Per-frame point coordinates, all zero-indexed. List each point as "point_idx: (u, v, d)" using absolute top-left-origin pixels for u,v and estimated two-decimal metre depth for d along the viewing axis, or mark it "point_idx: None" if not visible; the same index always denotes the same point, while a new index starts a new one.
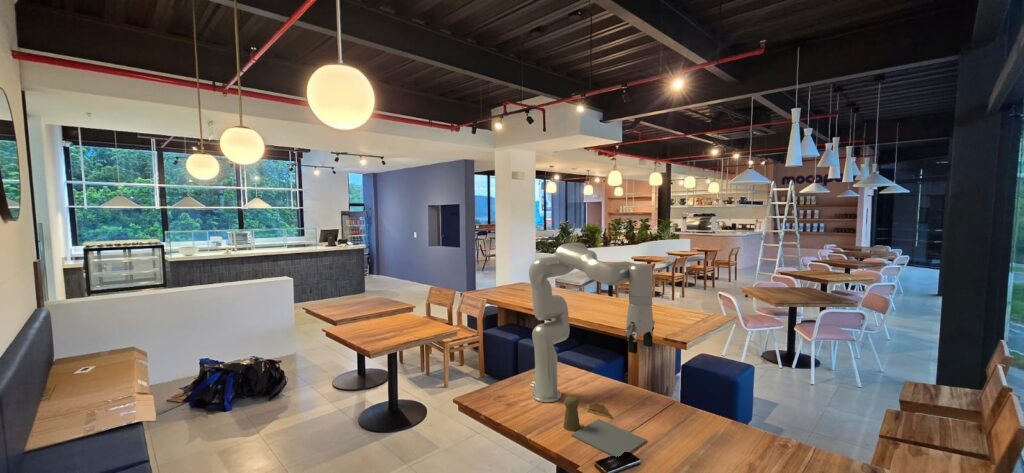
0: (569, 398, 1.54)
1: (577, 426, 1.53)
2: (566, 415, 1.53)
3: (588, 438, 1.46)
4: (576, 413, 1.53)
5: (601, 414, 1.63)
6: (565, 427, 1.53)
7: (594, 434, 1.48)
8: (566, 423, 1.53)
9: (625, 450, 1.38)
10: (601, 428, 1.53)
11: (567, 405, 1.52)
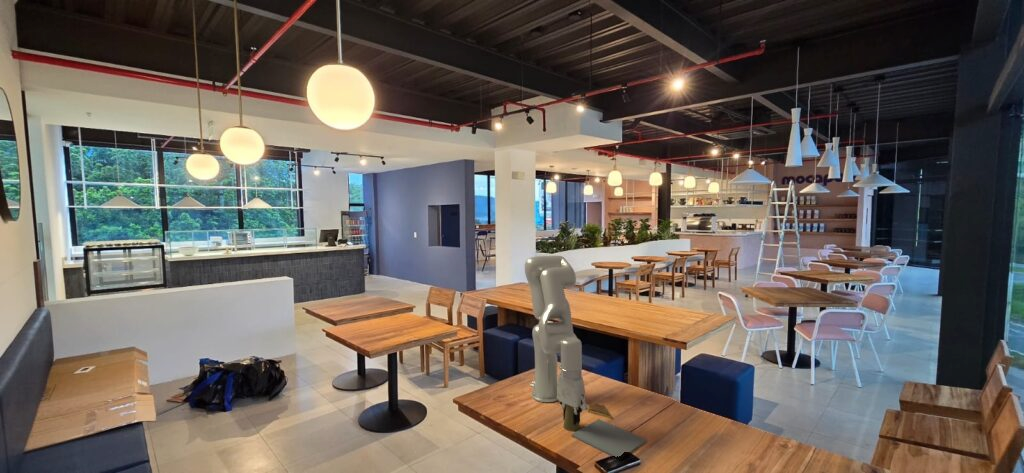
0: None
1: (577, 426, 1.53)
2: (566, 415, 1.53)
3: (588, 438, 1.46)
4: None
5: (601, 414, 1.63)
6: (565, 426, 1.53)
7: (594, 434, 1.48)
8: (566, 423, 1.53)
9: (625, 450, 1.38)
10: (601, 428, 1.53)
11: (567, 405, 1.52)
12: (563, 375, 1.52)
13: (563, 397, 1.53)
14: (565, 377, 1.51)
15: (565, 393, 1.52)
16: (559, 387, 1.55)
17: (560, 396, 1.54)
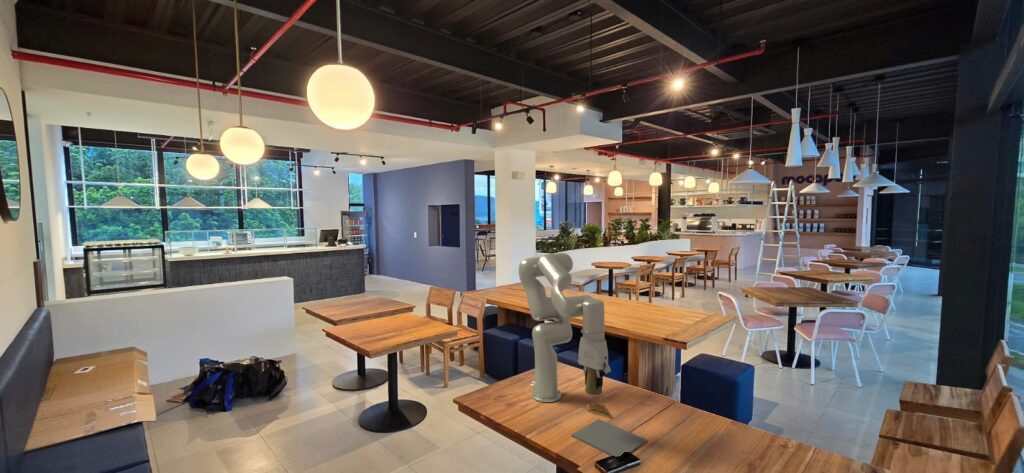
0: None
1: (600, 390, 1.48)
2: (588, 379, 1.49)
3: (588, 438, 1.46)
4: None
5: (601, 414, 1.63)
6: (587, 391, 1.48)
7: (594, 434, 1.48)
8: (588, 387, 1.48)
9: (625, 450, 1.38)
10: (601, 428, 1.53)
11: (589, 368, 1.48)
12: (585, 337, 1.47)
13: (585, 360, 1.49)
14: (587, 339, 1.46)
15: (588, 355, 1.48)
16: (581, 350, 1.50)
17: (582, 359, 1.50)
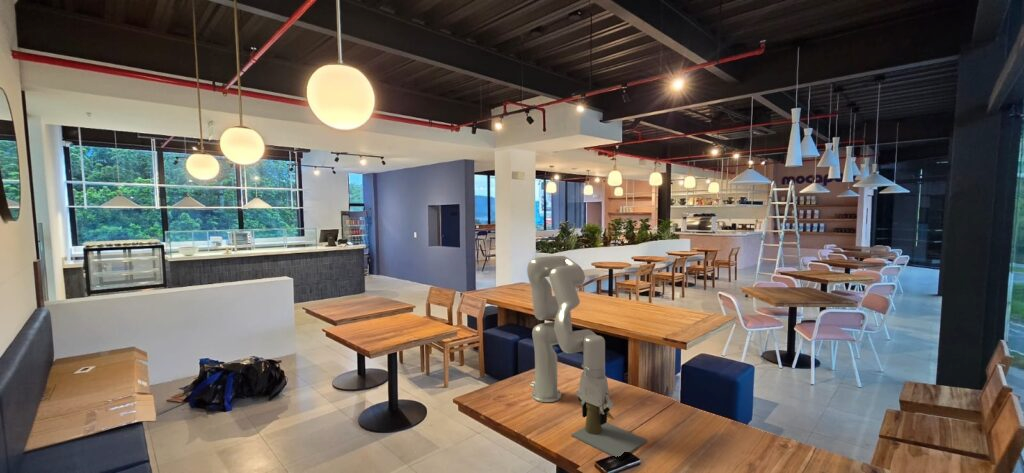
0: None
1: (599, 429, 1.49)
2: (588, 418, 1.50)
3: (588, 438, 1.46)
4: (598, 416, 1.49)
5: None
6: (587, 430, 1.49)
7: (594, 434, 1.48)
8: (588, 426, 1.49)
9: (625, 450, 1.38)
10: None
11: (589, 408, 1.49)
12: (586, 373, 1.48)
13: (586, 396, 1.49)
14: (588, 376, 1.47)
15: (588, 392, 1.48)
16: (581, 386, 1.51)
17: (582, 395, 1.50)
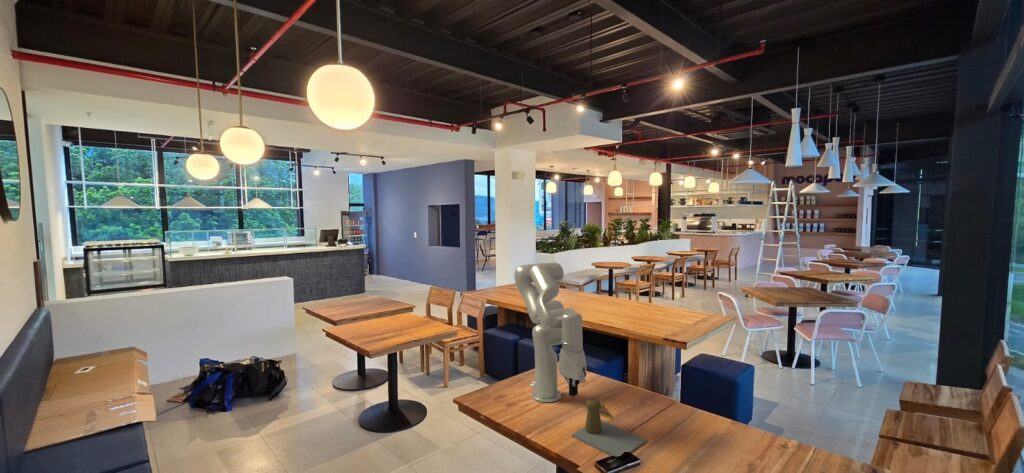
0: (591, 400, 1.50)
1: (599, 429, 1.49)
2: (588, 418, 1.50)
3: (588, 438, 1.46)
4: (598, 416, 1.49)
5: (601, 414, 1.63)
6: (587, 430, 1.49)
7: (594, 434, 1.48)
8: (588, 426, 1.49)
9: (625, 450, 1.38)
10: None
11: (589, 408, 1.49)
12: (564, 348, 1.54)
13: (565, 371, 1.56)
14: (566, 350, 1.54)
15: (567, 366, 1.55)
16: (561, 361, 1.57)
17: (562, 370, 1.57)
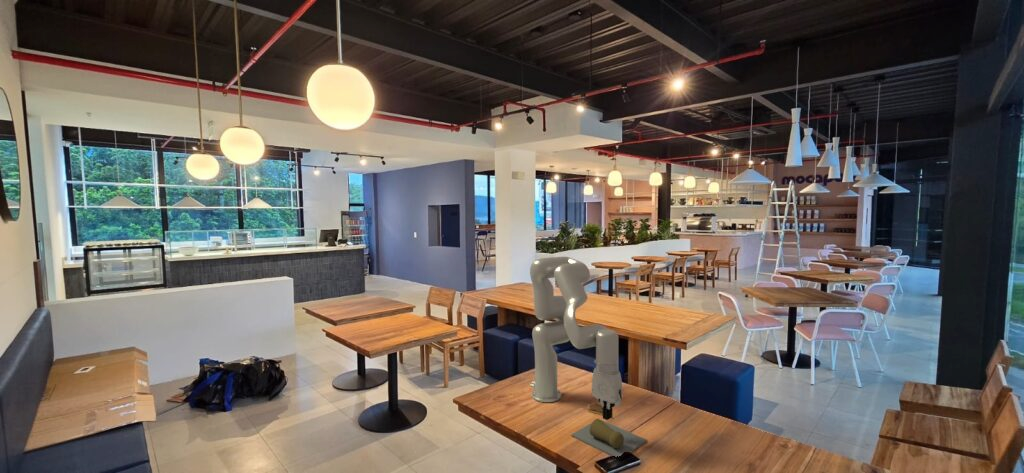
0: (619, 444, 1.38)
1: None
2: (602, 439, 1.42)
3: (588, 438, 1.46)
4: None
5: (602, 414, 1.63)
6: (593, 435, 1.45)
7: None
8: (596, 437, 1.45)
9: (625, 450, 1.38)
10: None
11: (612, 446, 1.39)
12: (599, 369, 1.43)
13: (599, 392, 1.45)
14: (601, 371, 1.43)
15: (601, 388, 1.44)
16: (594, 382, 1.46)
17: (595, 391, 1.46)
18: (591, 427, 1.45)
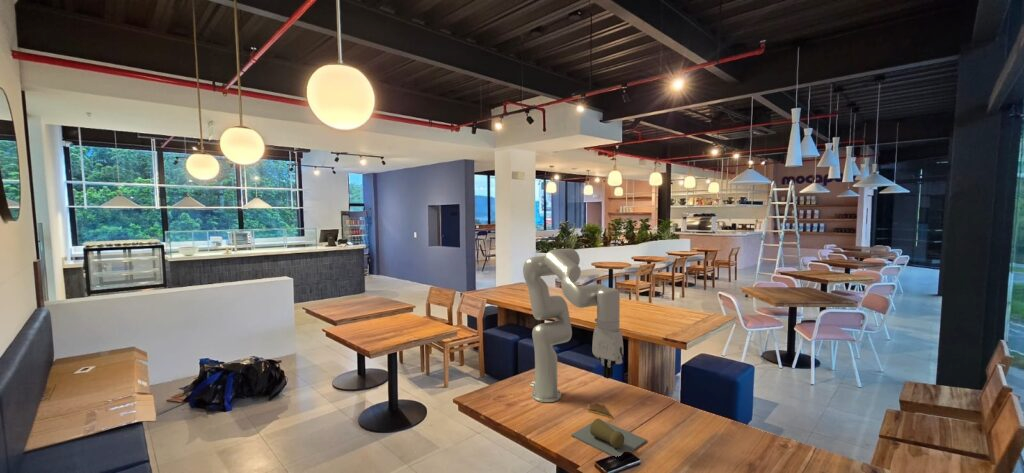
0: (619, 444, 1.38)
1: None
2: (602, 438, 1.42)
3: (588, 438, 1.46)
4: None
5: (602, 414, 1.63)
6: (593, 435, 1.45)
7: None
8: (596, 436, 1.45)
9: (625, 450, 1.38)
10: None
11: None
12: (600, 327, 1.42)
13: (599, 351, 1.44)
14: (602, 329, 1.41)
15: (602, 346, 1.43)
16: (595, 340, 1.45)
17: (596, 350, 1.45)
18: (592, 426, 1.45)
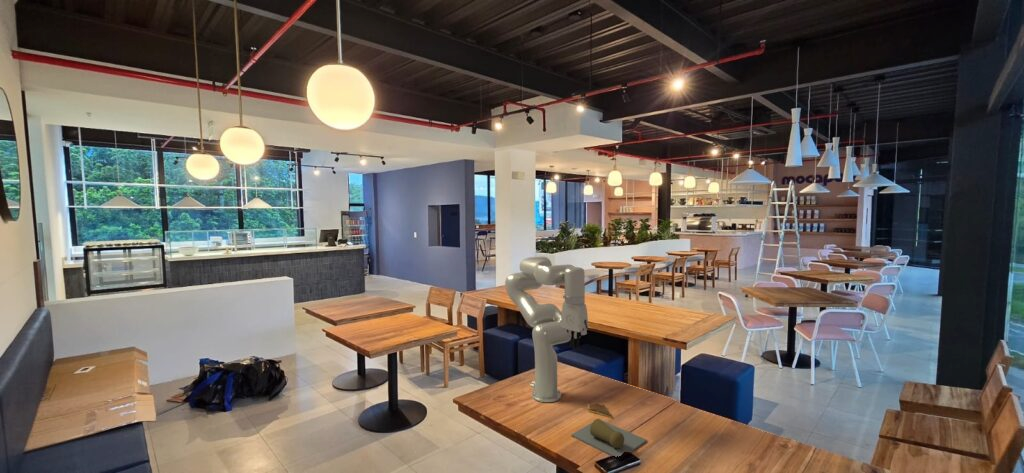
0: (619, 444, 1.38)
1: None
2: (602, 439, 1.42)
3: (588, 438, 1.46)
4: None
5: (602, 414, 1.63)
6: (593, 435, 1.45)
7: None
8: (596, 436, 1.45)
9: (625, 450, 1.38)
10: None
11: (612, 446, 1.39)
12: (567, 302, 1.58)
13: (567, 324, 1.59)
14: (569, 303, 1.57)
15: (569, 319, 1.58)
16: (563, 315, 1.61)
17: (564, 323, 1.61)
18: (592, 426, 1.45)
